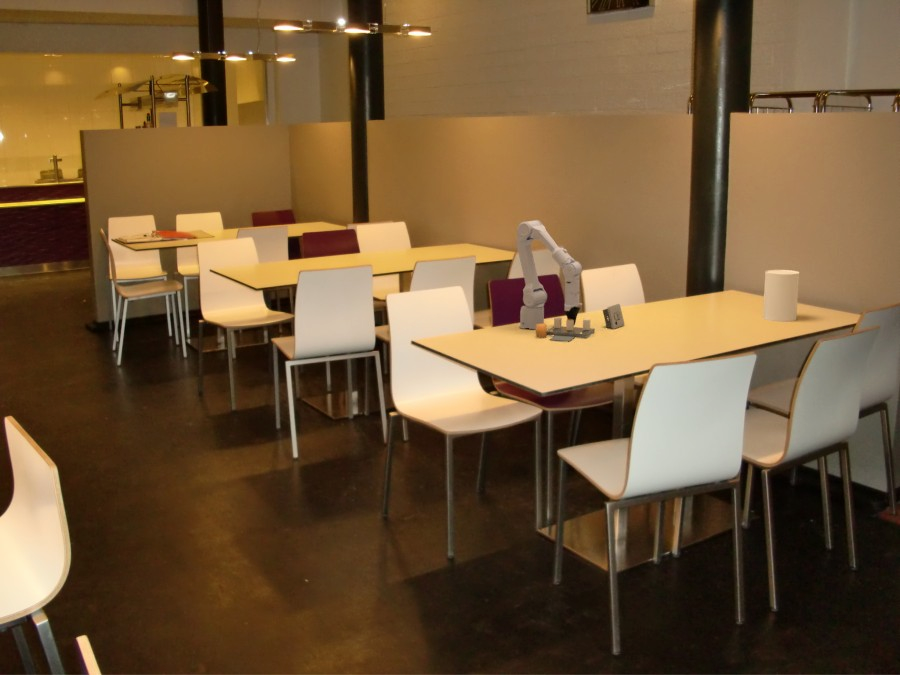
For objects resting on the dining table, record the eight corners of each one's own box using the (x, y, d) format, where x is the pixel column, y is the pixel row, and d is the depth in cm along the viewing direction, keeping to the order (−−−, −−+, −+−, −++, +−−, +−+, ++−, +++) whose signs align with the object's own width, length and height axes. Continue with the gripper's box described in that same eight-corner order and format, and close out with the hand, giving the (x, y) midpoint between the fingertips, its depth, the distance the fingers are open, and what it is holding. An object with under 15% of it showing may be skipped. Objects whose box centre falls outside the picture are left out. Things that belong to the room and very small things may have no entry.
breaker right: (582, 329, 366) (583, 319, 365) (584, 328, 368) (584, 319, 367) (588, 330, 365) (589, 320, 364) (590, 329, 367) (590, 319, 366)
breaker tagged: (566, 330, 366) (566, 319, 365) (567, 329, 368) (567, 318, 367) (572, 330, 365) (572, 320, 364) (573, 329, 367) (573, 319, 366)
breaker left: (554, 327, 371) (554, 318, 370) (555, 326, 373) (555, 317, 372) (560, 328, 370) (560, 318, 369) (561, 327, 372) (561, 317, 371)
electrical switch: (613, 329, 373) (612, 307, 372) (602, 329, 377) (601, 307, 375) (624, 325, 381) (623, 303, 379) (613, 325, 384) (612, 303, 382)
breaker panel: (545, 335, 365) (545, 330, 364) (554, 329, 375) (554, 324, 375) (586, 338, 358) (586, 333, 358) (594, 332, 369) (594, 327, 368)
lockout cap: (535, 337, 361) (535, 325, 360) (538, 335, 365) (537, 323, 364) (544, 338, 360) (544, 325, 359) (547, 336, 363) (547, 323, 362)
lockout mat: (549, 340, 355) (549, 339, 355) (555, 336, 362) (555, 335, 362) (569, 342, 352) (569, 341, 352) (575, 337, 359) (575, 336, 359)
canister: (793, 322, 381) (796, 275, 377) (759, 320, 387) (762, 273, 383) (798, 317, 392) (801, 270, 388) (766, 314, 399) (768, 268, 395)
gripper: (577, 295, 357) (576, 329, 360) (586, 289, 370) (586, 322, 373) (559, 294, 360) (559, 328, 363) (569, 288, 373) (569, 321, 376)
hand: (571, 325), depth 368 cm, fingers closed
